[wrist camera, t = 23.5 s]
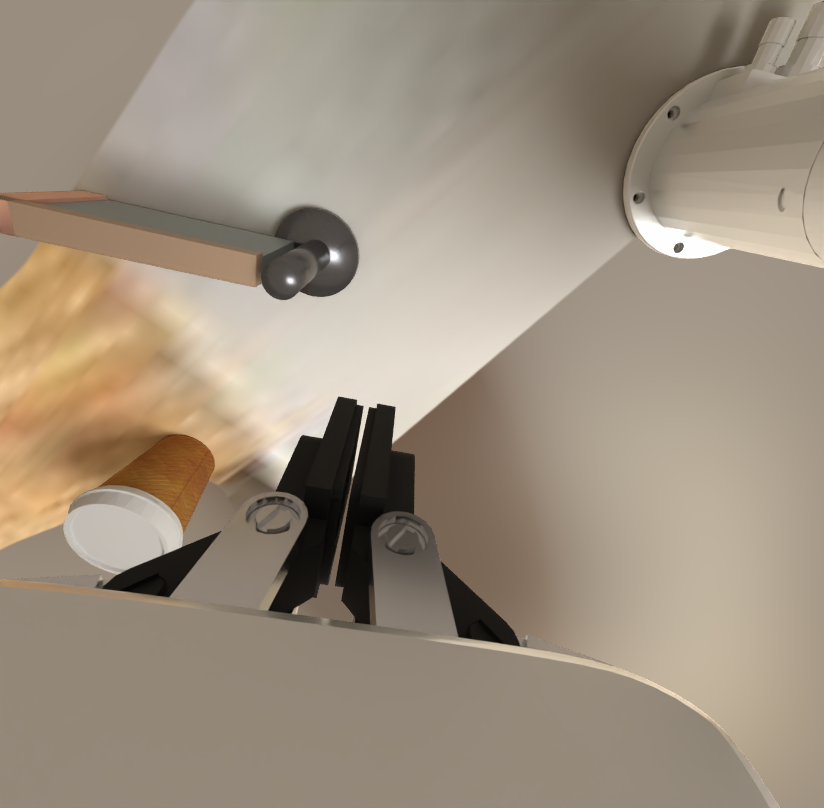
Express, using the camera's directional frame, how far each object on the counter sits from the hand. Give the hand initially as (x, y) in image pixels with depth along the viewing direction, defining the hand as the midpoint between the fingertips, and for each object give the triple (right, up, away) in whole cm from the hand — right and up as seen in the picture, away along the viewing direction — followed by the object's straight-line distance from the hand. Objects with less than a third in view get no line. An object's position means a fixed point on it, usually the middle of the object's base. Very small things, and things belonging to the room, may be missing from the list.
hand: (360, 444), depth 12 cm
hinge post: (-6, +14, +23) cm, 28 cm away
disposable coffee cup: (-23, -5, +34) cm, 41 cm away
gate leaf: (-16, +15, +21) cm, 31 cm away
